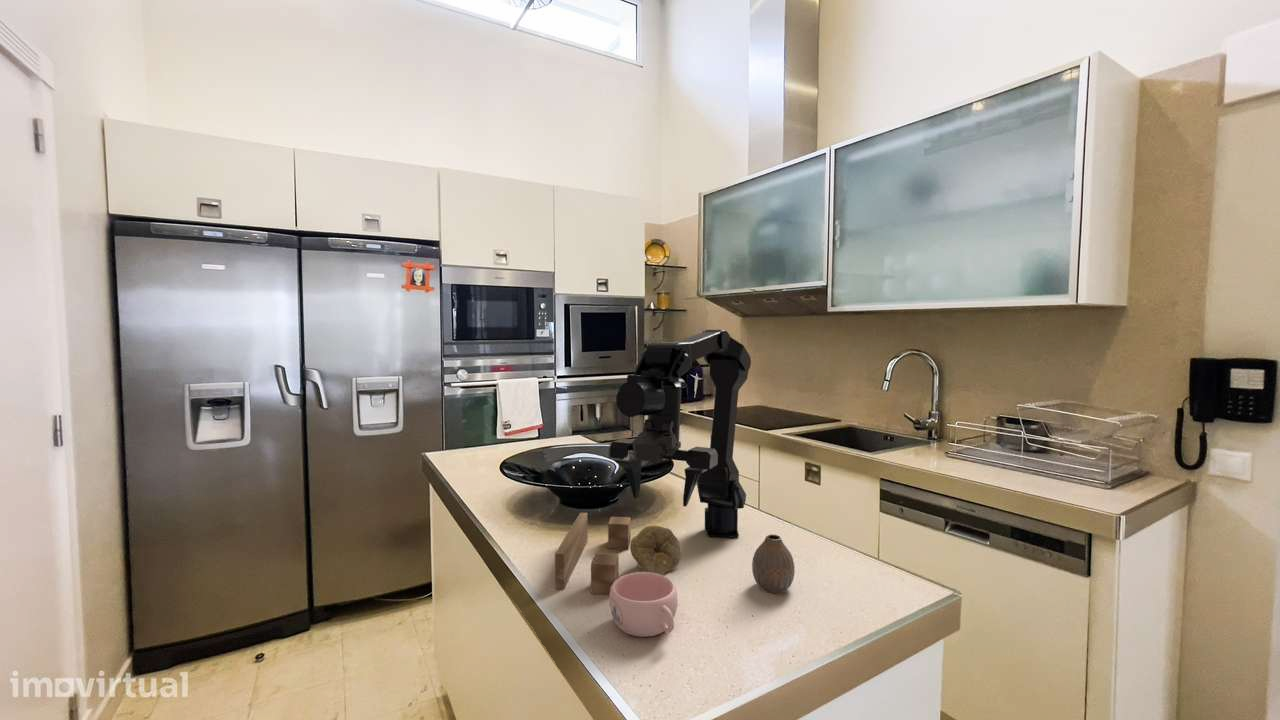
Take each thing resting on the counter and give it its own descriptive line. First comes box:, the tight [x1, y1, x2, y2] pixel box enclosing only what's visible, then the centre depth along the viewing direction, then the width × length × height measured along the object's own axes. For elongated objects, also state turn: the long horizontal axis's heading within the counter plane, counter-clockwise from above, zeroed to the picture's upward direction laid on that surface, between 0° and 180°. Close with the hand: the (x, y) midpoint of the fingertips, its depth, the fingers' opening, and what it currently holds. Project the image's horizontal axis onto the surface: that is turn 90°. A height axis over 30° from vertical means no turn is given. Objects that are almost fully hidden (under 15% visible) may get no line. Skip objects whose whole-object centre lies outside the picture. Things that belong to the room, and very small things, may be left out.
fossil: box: [629, 525, 682, 576], centre depth 96 cm, size 9×4×10 cm
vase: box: [751, 534, 796, 595], centre depth 87 cm, size 7×7×9 cm
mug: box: [608, 571, 679, 638], centre depth 75 cm, size 12×10×6 cm
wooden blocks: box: [554, 512, 632, 596], centre depth 96 cm, size 10×22×6 cm, turn 174°
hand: (660, 502), depth 92 cm, fingers open, 9 cm apart
